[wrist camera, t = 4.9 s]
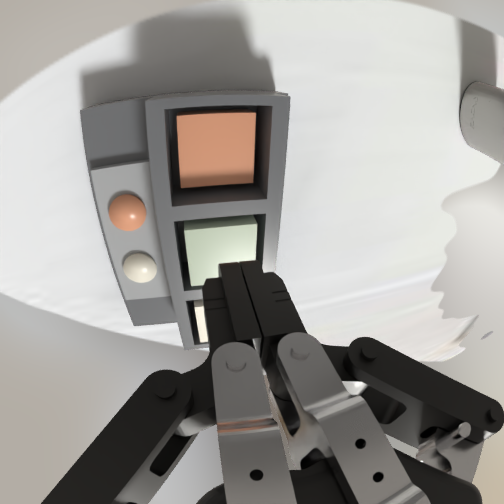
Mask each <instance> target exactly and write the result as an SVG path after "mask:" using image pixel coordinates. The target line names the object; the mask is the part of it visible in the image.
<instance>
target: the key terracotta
mask: <svg viewBox="0 0 504 504" xmlns="http://www.w3.org/2000/svg"><path fill="white" fill-rule="evenodd" d="M255 124H256V113H255V112H253V111H251V110H249V109H223V110H201V111H186V112H178V113H177V133H178V152H179V168H180V181H181V188H189V187H200V186H213V185H227V184H243V183H253V175H254V149H255Z"/></svg>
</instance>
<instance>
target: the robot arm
mask: <svg viewBox="0 0 504 504" xmlns="http://www.w3.org/2000/svg"><path fill="white" fill-rule="evenodd" d="M460 123H461V130H462V134H463V137H464V139H465V141H466V142H467V144H468V145H469V146H471V147H472V148H474V149H476V150H478V151H480V152H482V153H484V154H485V155H487V156H489V157H491V158H493V159H494V160H496V161H498V162H499V163H501V164H503V165H504V89H501V88H498V87H495V86H492V85H488V84H485V83H481V82H474V83H472V84H470V86H469V87H468V88H467V90H466V92H465V93H464V96H463V99H462V104H461V112H460ZM202 296H203V307H204V317H205V324H206V331H207V337H208V343H209V350H210V353H209V356H208V358H207V359H206V360H205V362H204V363H203V364H202V365H200V366H199V367H197V368H195V369H193V370H191V371H188V372H186V373H183V374H180V373H179V372H176V371H173V370H159V371H156V372H154V373H152V374H151V375H149V376H148V377H147V378H146V379H145V380H144V382H143V383H142V384H141V385H140V386H139V388H138V389H137V390H136V391H135V392H134V393H133V395H132V396H131V397H130V398H129V399H128V401H127V402H126V403H125V404H124V405H123V407H122V408H121V409H120V410H119V411H118V413H117V414H116V415H115V416H114V417H113V418H112V420H111V421H110V422H109V423H108V425H107V426H106V427H105V428H104V429H103V431H102V432H101V433H100V434H99V435H98V436H97V437H96V439H95V440H94V441H93V442H92V444H91V445H90V446H89V447H88V448H87V449H86V451H85V452H84V453H83V454H82V455H81V457H80V458H79V459H78V460H77V461H76V463H75V464H74V465H73V466H72V467H71V468H70V470H69V471H68V472H67V473H66V474H65V476H64V477H63V478H62V479H61V480H60V481H59V483H58V484H57V485H56V486H55V488H54V489H53V490H52V491H51V492H50V494H49V495H48V496H47V497H46V498H45V499H44V500H43V502H42V503H41V504H148V503H149V502H150V501H151V499H152V498H153V496H154V495H155V494H156V493H157V491H158V490H159V489H160V487H161V486H162V485H163V483H164V481H165V480H166V479H167V478H168V476H169V475H170V473H171V472H172V471H173V469H174V468H175V467H176V465H177V464H178V462H179V461H180V459H181V458H182V457H183V455H184V454H185V452H186V451H187V449H188V448H189V447H190V445H191V444H192V442H193V441H194V439H195V438H196V436H197V435H198V433H199V432H200V431H202V430H205V429H207V428H209V427H211V426H213V425H215V424H217V431H218V441H219V449H220V458H221V465H222V473H223V480H224V483H223V484H221V485H219V486H217V487H215V488H213V489H212V490H211V491H209V492H207V493H206V494H205V495H204V496H203V497H202V498H201V499H200V500H199V501H198V502H197V503H196V504H482V497H481V494H480V492H479V490H478V489H477V487H476V486H475V485H473V484H472V481H473V478H474V475H475V472H476V468H477V465H478V462H479V458H480V455H481V451H482V447H483V443H484V441H485V440H486V439H487V438H489V437H491V436H492V435H494V434H495V433H497V432H498V431H499V430H500V429H501V428H502V426H503V423H504V411H503V409H502V407H501V405H500V404H499V402H497V401H496V400H494V399H492V398H490V397H488V396H486V395H484V394H482V393H480V392H478V391H476V390H474V389H472V388H470V387H468V386H466V385H463V384H462V383H459V382H457V381H455V380H453V379H451V378H449V377H447V376H445V375H443V374H441V373H440V372H438V371H436V370H433V369H432V368H430V367H428V366H426V365H424V364H422V363H420V362H418V361H416V360H414V359H412V358H410V357H408V356H406V355H404V354H402V353H400V352H399V351H397V350H395V349H393V348H391V347H389V346H387V345H385V344H383V343H381V342H379V341H377V340H375V339H373V338H370V337H360V338H357V339H355V340H354V341H352V343H351V344H350V346H349V347H344V346H329V345H324V344H321V343H320V342H319V341H318V340H317V339H316V338H314V337H313V336H311V335H309V334H308V333H307V332H306V330H305V328H304V326H303V323H302V321H301V319H300V317H299V315H298V312H297V310H296V308H295V306H294V304H293V302H292V300H291V297H290V295H289V293H288V292H287V289H286V286H285V284H284V282H283V280H282V279H281V278H280V277H279V276H278V275H276V274H275V273H274V272H265V273H264V271H263V269H262V266H261V264H260V262H259V260H250V261H239V263H238V262H230V263H219V264H218V277H217V278H207V279H206V280H205V283H204V285H203V287H202ZM264 375H267V378H268V381H269V388H268V392H269V396H270V398H271V401H272V403H273V406H274V408H275V411H276V413H277V416H278V418H279V420H280V423H281V425H282V428H283V430H284V432H285V435H286V438H287V442H288V450H289V453H290V457H291V459H292V462H293V464H294V466H295V469H296V470H289V468H288V463H287V459H286V455H285V450H284V446H283V441H282V437H281V433H280V429H279V427H278V424H277V422H276V421H275V420H274V419H273V417H272V413H271V408H270V404H269V399H268V394H267V390H266V385H265V380H264ZM385 434H387V435H389V436H392V437H394V438H396V439H398V440H400V441H402V442H404V443H406V444H408V445H411V446H413V447H415V448H417V449H418V451H417V453H416V459H415V458H412V457H411V456H409V455H407V454H404V453H403V452H401V451H399V450H397V449H395V448H392V446H391V444H390V442H389V441H388V439H387V437H386V435H385Z"/></svg>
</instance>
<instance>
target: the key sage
mask: <svg viewBox="0 0 504 504" xmlns="http://www.w3.org/2000/svg"><path fill="white" fill-rule="evenodd" d="M184 233H185V242H186V250H187V258H188V266H189V273H190V281H191V286H198V285H204V283H205V280H206V279H207V278H217V277H218V264H219V263H230V262H238V263H239V261H250V260H255V259H256V240H257V222H256V220H255V218H254V216H253V214H252V215H239V216H227V217H216V218H205V219H194V220H184Z"/></svg>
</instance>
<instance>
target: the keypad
mask: <svg viewBox="0 0 504 504" xmlns="http://www.w3.org/2000/svg"><path fill="white" fill-rule="evenodd" d="M223 109H249V110H251V111H253V112H255V113H256V124H255V149H254V175H253V183H243V184H227V185H213V186H200V187H189V188H181V181H180V168H179V152H178V133H177V113H178V112H186V111H201V110H223ZM289 111H290V96H288V94H287V93H282V92H277V91H254V90H220V91H196V92H182V93H171V94H161V95H153V96H145V97H138V98H131V99H125V100H119V101H114V102H109V103H104V104H99V105H94V106H91V107H88V108H85V109H82V110H80V114H81V124H82V132H83V140H84V147H85V153H86V160H87V165H88V171H89V176H90V182H91V187H92V191H93V196H94V201H95V205H96V209H97V213H98V217H99V221H100V225H101V229H102V233H103V236H104V240H105V244H106V247H107V250H108V254H109V257H110V260H111V264H112V267H113V270H114V273H115V276H116V279H117V282H118V285H119V288H120V290H121V293H122V296H123V299H124V302H125V304H126V307H127V310H128V312H129V315H130V317H131V320H132V322H133V325H134V326H141V325H154V324H165V323H176V322H177V323H178V327H179V331H180V335H181V339H182V342H183V346H184V349H185V350H190V349H199V348H208V347H209V343H208V342H200V337H199V331H198V326H197V320H196V314H195V307H194V300H198V299H203V296H202V287H203V285H198V286H191V281H190V273H189V266H188V258H187V250H186V242H185V233H184V220H194V219H205V218H216V217H227V216H239V215H252V214H253V216H254V218H255V220H256V222H257V240H256V259H255V260H259V262H260V264H261V266H262V269H263V271H264V273H265V272H274V273H275V268H276V259H277V249H278V240H279V230H280V219H281V209H282V198H283V187H284V176H285V164H286V151H287V139H288V125H289Z"/></svg>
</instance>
